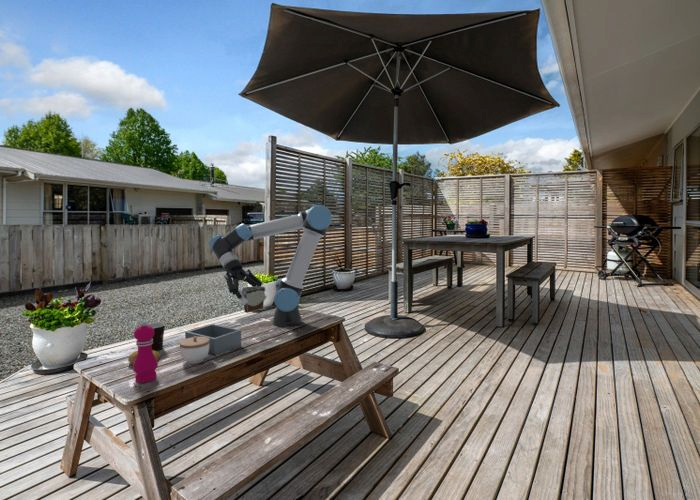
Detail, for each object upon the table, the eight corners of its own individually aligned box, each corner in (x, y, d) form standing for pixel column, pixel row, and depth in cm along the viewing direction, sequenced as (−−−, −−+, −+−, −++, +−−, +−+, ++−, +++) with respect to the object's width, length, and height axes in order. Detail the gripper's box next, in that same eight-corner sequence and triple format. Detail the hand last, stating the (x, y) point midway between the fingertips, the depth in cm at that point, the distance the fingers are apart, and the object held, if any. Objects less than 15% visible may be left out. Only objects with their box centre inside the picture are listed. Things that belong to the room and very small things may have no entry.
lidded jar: (175, 361, 139) (174, 337, 139) (201, 353, 148) (201, 330, 147) (188, 368, 133) (187, 343, 132) (215, 359, 141) (215, 336, 140)
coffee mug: (155, 353, 147) (154, 329, 146) (137, 351, 149) (136, 327, 148) (174, 344, 159) (174, 321, 158) (157, 342, 160) (156, 320, 159)
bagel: (165, 360, 140) (165, 348, 140) (135, 369, 132) (134, 357, 131) (153, 354, 146) (152, 343, 146) (123, 363, 137) (122, 351, 137)
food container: (255, 306, 170) (256, 285, 169) (265, 308, 167) (265, 286, 166) (235, 311, 160) (235, 288, 159) (245, 313, 157) (245, 290, 156)
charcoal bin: (213, 339, 166) (212, 323, 165) (241, 345, 157) (241, 330, 156) (185, 348, 153) (185, 331, 153) (214, 356, 144) (214, 339, 144)
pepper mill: (128, 381, 121) (126, 322, 120) (147, 373, 128) (145, 317, 127) (144, 385, 119) (142, 325, 117) (162, 376, 126) (160, 319, 124)
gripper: (246, 266, 180) (269, 301, 173) (206, 271, 160) (230, 311, 153) (253, 256, 177) (277, 292, 170) (214, 260, 157) (239, 300, 150)
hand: (255, 301), depth 162 cm, fingers closed on food container, 11 cm apart
